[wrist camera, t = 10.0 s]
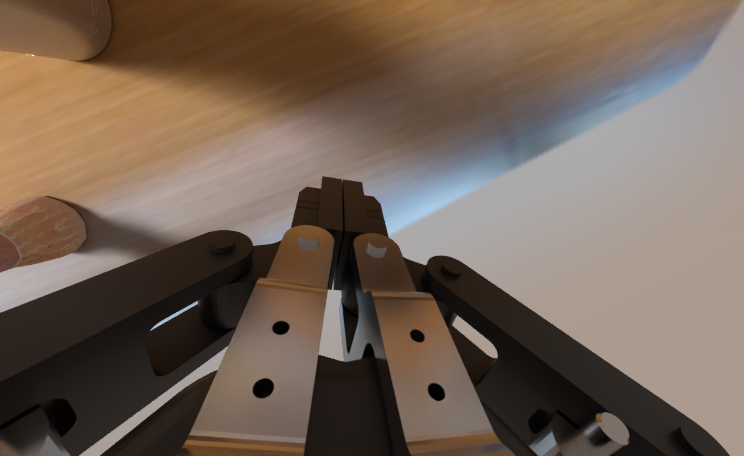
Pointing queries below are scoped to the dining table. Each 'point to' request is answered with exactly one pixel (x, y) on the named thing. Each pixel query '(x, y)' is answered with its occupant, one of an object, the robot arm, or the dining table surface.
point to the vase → (38, 232)
